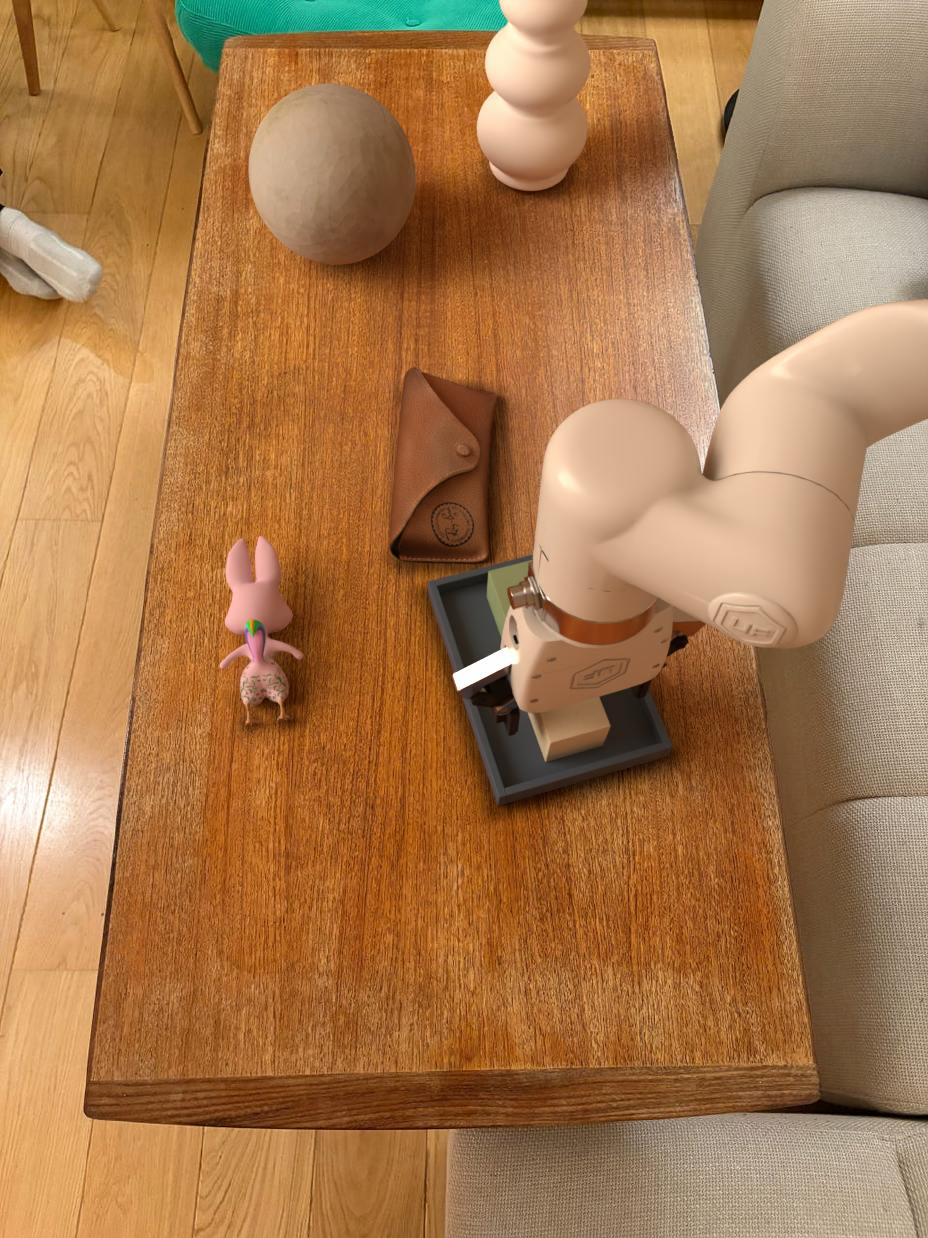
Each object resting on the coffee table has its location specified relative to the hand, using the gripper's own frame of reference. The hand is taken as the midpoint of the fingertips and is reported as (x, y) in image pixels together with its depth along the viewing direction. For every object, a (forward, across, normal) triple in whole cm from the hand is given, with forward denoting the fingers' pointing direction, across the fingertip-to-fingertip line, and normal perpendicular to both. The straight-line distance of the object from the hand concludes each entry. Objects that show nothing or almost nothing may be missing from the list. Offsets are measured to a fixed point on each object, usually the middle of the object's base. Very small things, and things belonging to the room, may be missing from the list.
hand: (569, 698), depth 73 cm
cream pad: (+3, 0, 0) cm, 3 cm away
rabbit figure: (+3, -20, +13) cm, 24 cm away
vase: (+3, +17, +58) cm, 60 cm away
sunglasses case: (+3, -2, +24) cm, 24 cm away
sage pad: (+3, 0, +8) cm, 8 cm away
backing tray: (+3, 0, +4) cm, 5 cm away
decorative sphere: (+3, -4, +53) cm, 53 cm away
